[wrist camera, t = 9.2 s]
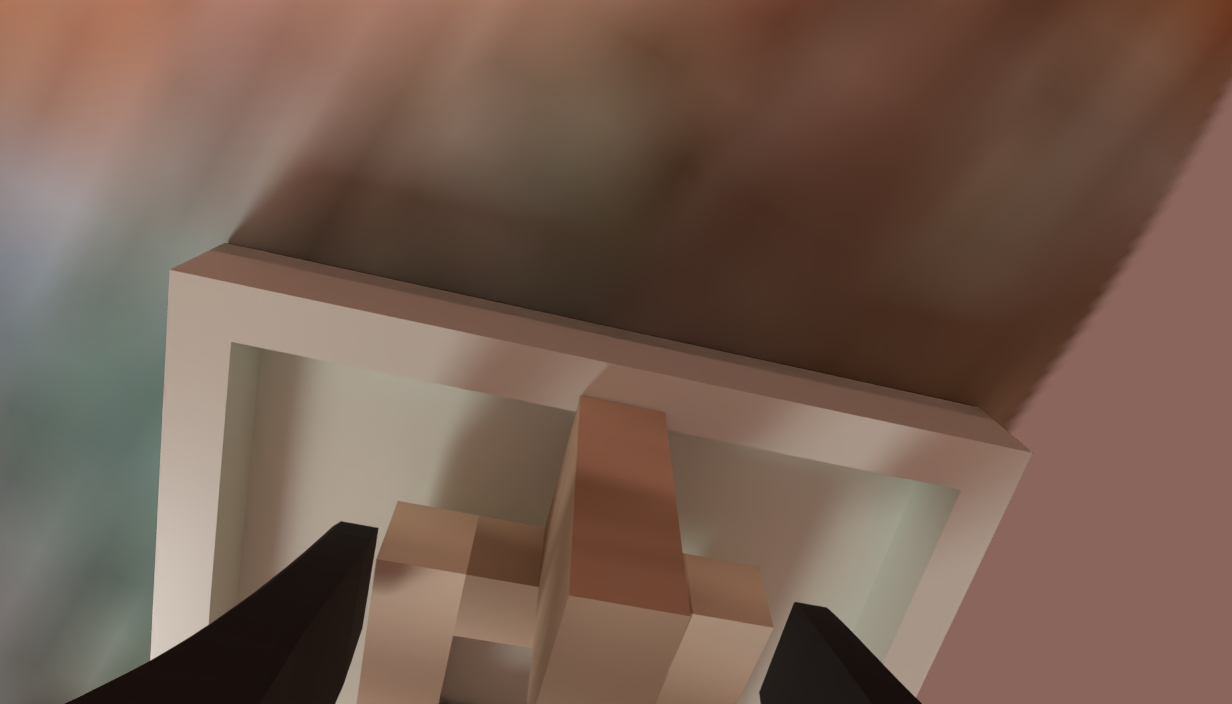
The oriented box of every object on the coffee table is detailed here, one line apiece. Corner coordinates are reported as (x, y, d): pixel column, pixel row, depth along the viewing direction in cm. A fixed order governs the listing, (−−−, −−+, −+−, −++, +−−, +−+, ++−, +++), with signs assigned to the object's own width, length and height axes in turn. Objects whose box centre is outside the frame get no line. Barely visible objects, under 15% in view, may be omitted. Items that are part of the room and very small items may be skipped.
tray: (760, 902, 21) (778, 985, 19) (182, 830, 19) (137, 915, 17) (978, 407, 16) (1033, 452, 14) (224, 242, 14) (169, 269, 12)
